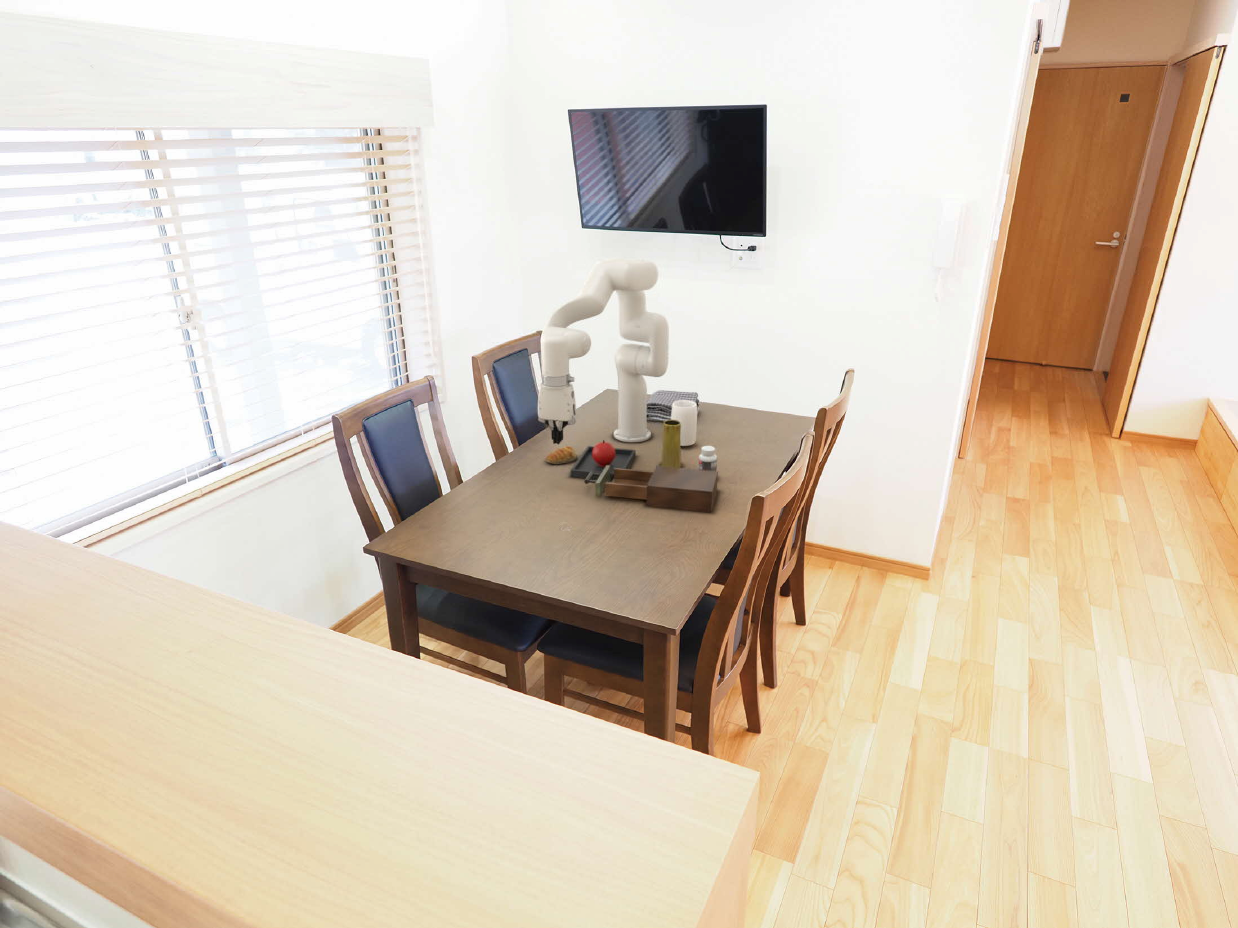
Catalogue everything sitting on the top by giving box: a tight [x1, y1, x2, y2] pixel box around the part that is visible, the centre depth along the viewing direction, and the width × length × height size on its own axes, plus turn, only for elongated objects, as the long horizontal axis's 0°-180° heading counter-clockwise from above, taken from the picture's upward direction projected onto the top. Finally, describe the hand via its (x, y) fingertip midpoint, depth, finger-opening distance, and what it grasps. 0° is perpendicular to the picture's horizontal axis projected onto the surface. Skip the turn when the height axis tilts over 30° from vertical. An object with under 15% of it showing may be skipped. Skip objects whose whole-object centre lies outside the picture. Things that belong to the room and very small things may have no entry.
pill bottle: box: [697, 445, 718, 471], centre depth 231 cm, size 5×5×10 cm
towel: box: [647, 389, 700, 422], centre depth 281 cm, size 15×18×8 cm
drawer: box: [583, 465, 654, 501], centre depth 223 cm, size 21×13×4 cm, turn 77°
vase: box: [660, 420, 682, 468], centre depth 239 cm, size 6×6×14 cm
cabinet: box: [646, 465, 719, 513], centre depth 220 cm, size 18×14×6 cm
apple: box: [592, 439, 616, 467], centre depth 240 cm, size 7×7×8 cm
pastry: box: [546, 445, 578, 465], centre depth 245 cm, size 9×7×4 cm
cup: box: [671, 400, 698, 447], centre depth 255 cm, size 8×8×14 cm
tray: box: [570, 445, 637, 482], centre depth 241 cm, size 20×16×2 cm
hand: (557, 442), depth 223 cm, fingers closed
